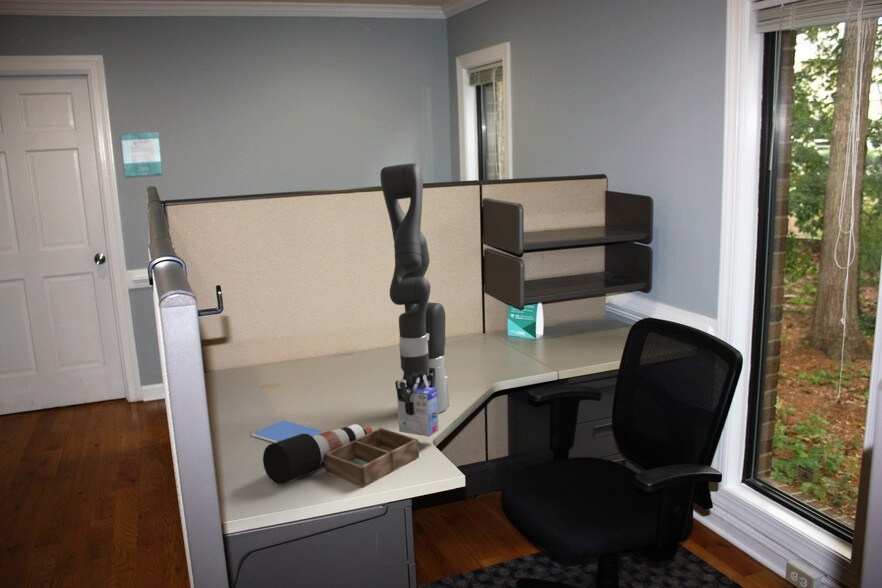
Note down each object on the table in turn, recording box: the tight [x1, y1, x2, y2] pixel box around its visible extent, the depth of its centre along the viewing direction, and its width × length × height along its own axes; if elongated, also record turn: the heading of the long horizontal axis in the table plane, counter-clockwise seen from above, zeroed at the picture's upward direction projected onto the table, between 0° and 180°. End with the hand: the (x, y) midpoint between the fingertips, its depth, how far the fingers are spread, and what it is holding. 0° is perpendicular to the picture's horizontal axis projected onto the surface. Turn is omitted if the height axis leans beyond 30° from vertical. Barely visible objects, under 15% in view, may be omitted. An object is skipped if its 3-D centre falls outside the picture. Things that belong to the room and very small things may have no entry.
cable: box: [262, 423, 374, 485], centre depth 189 cm, size 10×34×10 cm, turn 142°
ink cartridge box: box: [396, 382, 440, 438], centre depth 196 cm, size 10×6×14 cm, turn 62°
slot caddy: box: [324, 427, 420, 488], centre depth 185 cm, size 20×14×5 cm
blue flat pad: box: [251, 419, 326, 444], centre depth 207 cm, size 19×13×1 cm, turn 53°
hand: (418, 410), depth 196 cm, fingers closed on ink cartridge box, 6 cm apart
